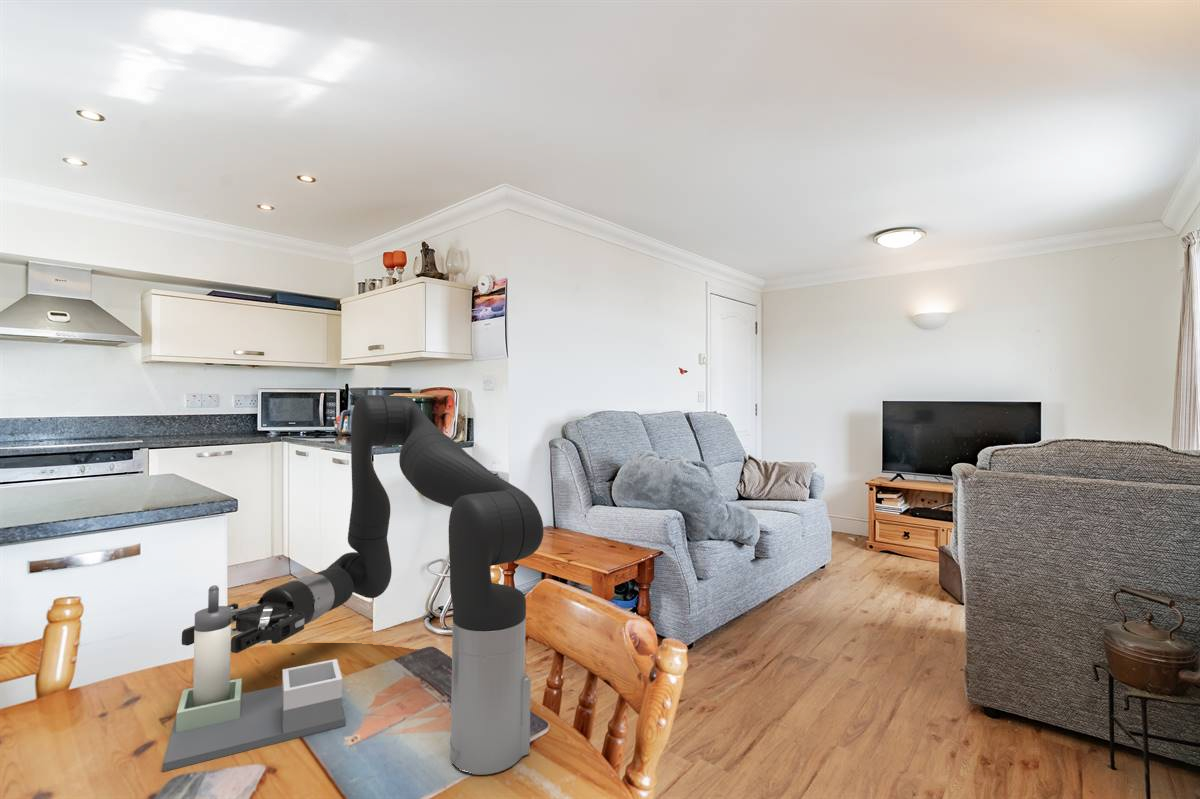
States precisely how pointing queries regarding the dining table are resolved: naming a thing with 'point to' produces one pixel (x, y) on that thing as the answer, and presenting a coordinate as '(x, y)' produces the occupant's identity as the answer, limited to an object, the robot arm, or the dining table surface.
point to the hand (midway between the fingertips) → (208, 642)
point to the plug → (212, 652)
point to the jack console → (257, 715)
